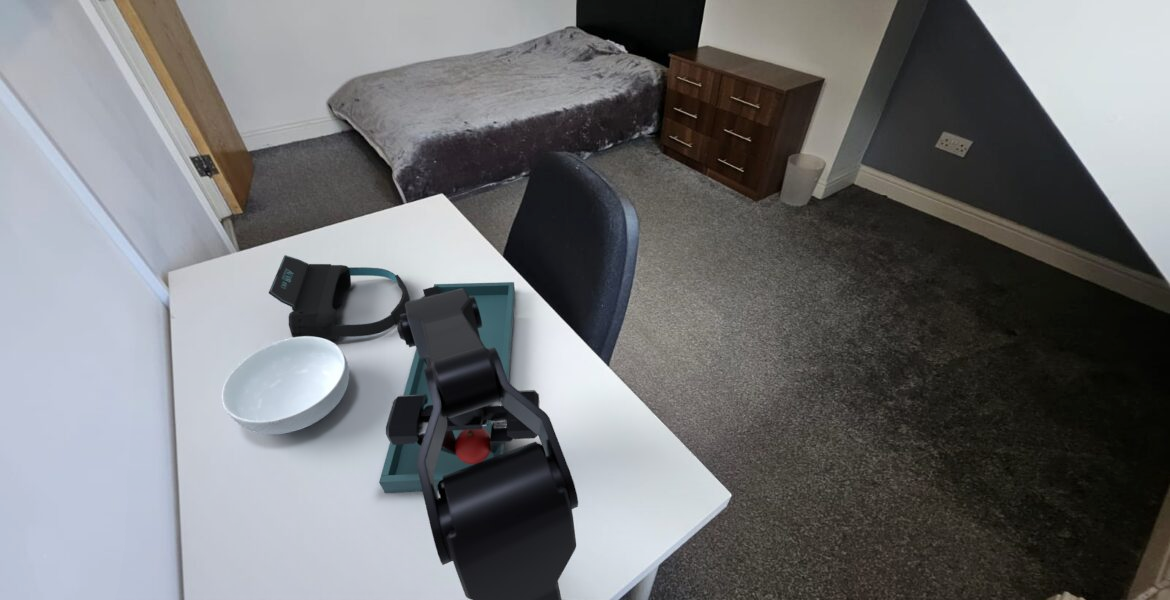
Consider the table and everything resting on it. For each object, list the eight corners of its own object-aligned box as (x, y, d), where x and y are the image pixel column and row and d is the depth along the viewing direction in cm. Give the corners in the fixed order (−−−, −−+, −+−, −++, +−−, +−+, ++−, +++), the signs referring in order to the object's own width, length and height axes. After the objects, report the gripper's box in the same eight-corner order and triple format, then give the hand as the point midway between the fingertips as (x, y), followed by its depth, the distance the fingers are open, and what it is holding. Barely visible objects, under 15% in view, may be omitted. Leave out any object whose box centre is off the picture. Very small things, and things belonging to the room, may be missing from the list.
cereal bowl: (218, 446, 70) (193, 418, 65) (278, 361, 82) (260, 333, 78) (331, 451, 69) (313, 424, 65) (374, 366, 82) (362, 337, 77)
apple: (492, 470, 65) (487, 447, 61) (455, 471, 64) (448, 449, 61) (495, 438, 69) (490, 414, 65) (460, 439, 68) (454, 416, 64)
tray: (501, 487, 66) (498, 476, 64) (384, 493, 65) (378, 482, 63) (515, 293, 97) (514, 281, 95) (436, 295, 96) (434, 284, 94)
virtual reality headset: (298, 284, 96) (288, 243, 90) (412, 284, 103) (409, 245, 96) (276, 349, 83) (261, 306, 76) (408, 344, 89) (404, 303, 83)
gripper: (537, 329, 62) (542, 401, 72) (393, 334, 61) (419, 406, 71) (535, 398, 54) (541, 468, 64) (369, 404, 53) (402, 475, 63)
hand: (475, 450), depth 66 cm, fingers closed on apple, 5 cm apart
